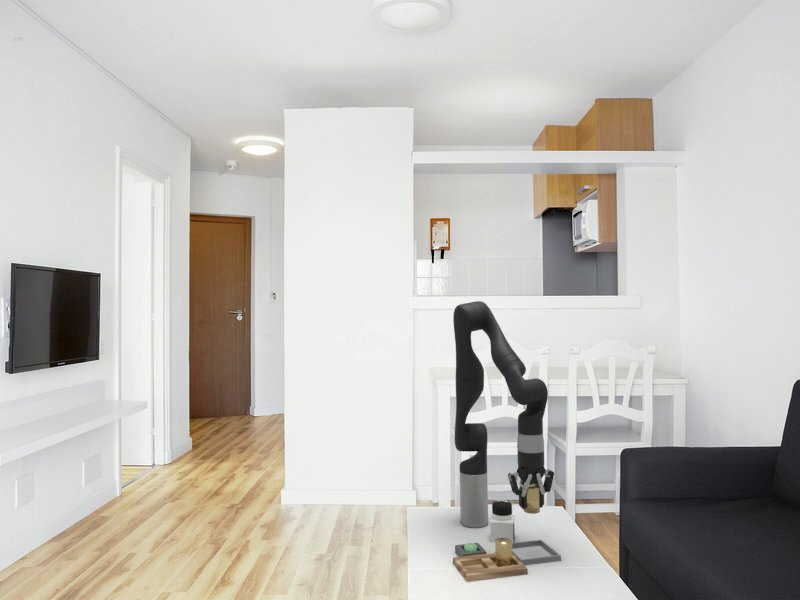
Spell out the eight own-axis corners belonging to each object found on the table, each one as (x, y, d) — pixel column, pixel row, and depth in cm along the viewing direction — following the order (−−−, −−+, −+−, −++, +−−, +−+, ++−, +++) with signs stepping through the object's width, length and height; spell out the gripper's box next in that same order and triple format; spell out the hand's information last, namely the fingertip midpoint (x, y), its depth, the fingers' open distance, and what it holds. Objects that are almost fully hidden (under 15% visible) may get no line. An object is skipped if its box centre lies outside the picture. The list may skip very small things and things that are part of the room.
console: (455, 555, 177) (455, 545, 177) (477, 552, 179) (477, 542, 179) (463, 565, 171) (463, 554, 171) (486, 562, 172) (486, 551, 172)
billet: (520, 508, 177) (520, 484, 177) (535, 507, 178) (534, 483, 178) (527, 514, 173) (527, 489, 172) (542, 512, 174) (542, 488, 174)
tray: (503, 552, 179) (503, 543, 179) (541, 547, 182) (541, 539, 182) (520, 569, 167) (520, 560, 167) (561, 564, 170) (561, 555, 170)
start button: (462, 554, 176) (462, 543, 176) (474, 553, 177) (474, 542, 177) (466, 559, 173) (466, 548, 173) (478, 558, 173) (478, 547, 173)
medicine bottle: (514, 546, 184) (513, 506, 184) (490, 544, 185) (489, 505, 185) (514, 537, 190) (513, 499, 191) (491, 536, 192) (490, 497, 192)
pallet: (453, 566, 170) (452, 557, 170) (509, 559, 174) (509, 550, 174) (467, 585, 158) (467, 575, 158) (527, 577, 162) (527, 568, 162)
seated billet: (493, 564, 169) (492, 538, 169) (508, 562, 170) (508, 537, 170) (499, 571, 164) (499, 544, 164) (515, 569, 165) (514, 543, 165)
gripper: (513, 453, 170) (514, 514, 170) (559, 449, 173) (560, 509, 173) (502, 447, 177) (503, 505, 177) (547, 443, 181) (548, 500, 181)
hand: (531, 507), depth 175 cm, fingers closed on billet, 4 cm apart
